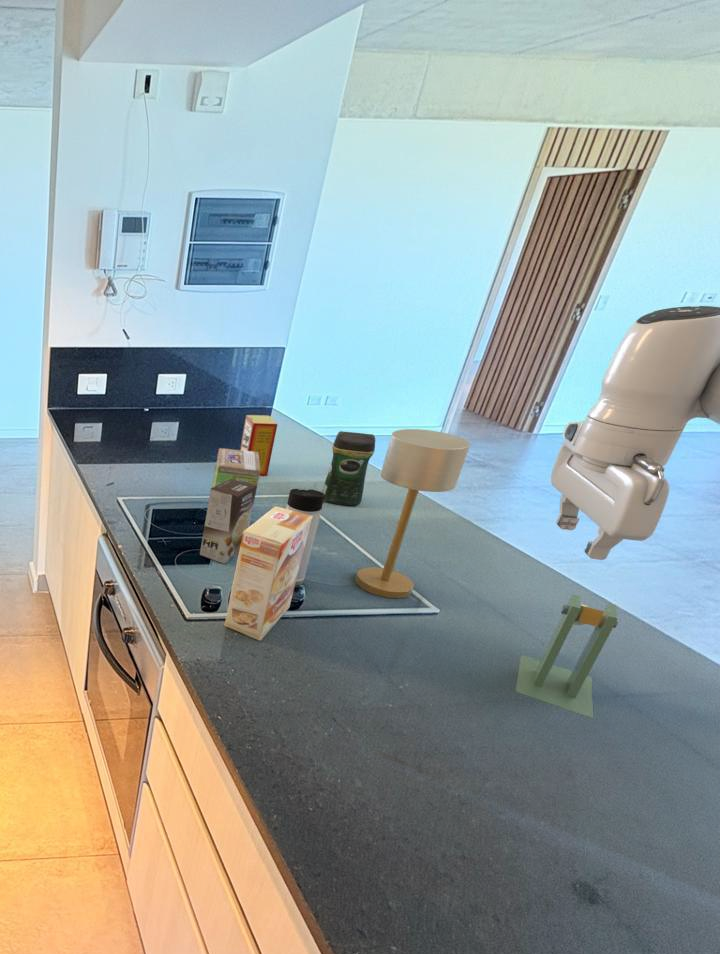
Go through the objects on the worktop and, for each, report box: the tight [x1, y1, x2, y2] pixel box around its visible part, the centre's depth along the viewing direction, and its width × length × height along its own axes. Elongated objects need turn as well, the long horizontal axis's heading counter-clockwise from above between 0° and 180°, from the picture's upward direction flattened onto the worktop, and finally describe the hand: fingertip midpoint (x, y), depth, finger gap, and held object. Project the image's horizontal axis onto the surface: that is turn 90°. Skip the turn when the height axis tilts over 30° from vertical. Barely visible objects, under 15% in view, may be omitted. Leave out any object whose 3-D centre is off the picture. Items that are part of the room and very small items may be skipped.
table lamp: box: [355, 428, 471, 599], centre depth 118 cm, size 12×12×31 cm
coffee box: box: [199, 479, 258, 565], centre depth 134 cm, size 9×6×16 cm
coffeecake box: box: [224, 505, 313, 641], centre depth 111 cm, size 15×7×20 cm, turn 137°
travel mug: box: [285, 488, 325, 586], centre depth 123 cm, size 6×7×20 cm
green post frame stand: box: [515, 593, 620, 719], centre depth 93 cm, size 12×9×16 cm
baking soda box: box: [239, 414, 278, 477], centre depth 182 cm, size 10×6×16 cm
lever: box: [572, 602, 604, 627], centre depth 94 cm, size 13×4×4 cm, turn 140°
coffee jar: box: [321, 430, 376, 506], centre depth 160 cm, size 10×8×19 cm
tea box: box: [211, 447, 261, 488], centre depth 155 cm, size 15×10×15 cm
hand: (578, 541), depth 83 cm, fingers open, 8 cm apart
